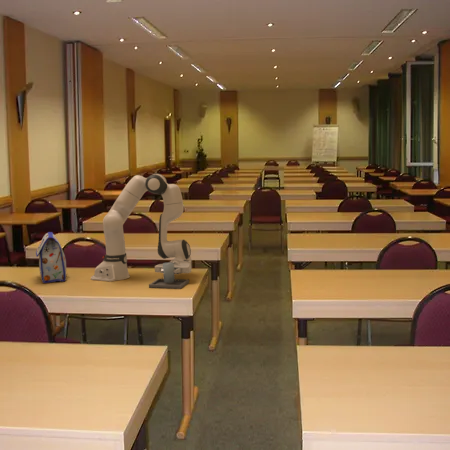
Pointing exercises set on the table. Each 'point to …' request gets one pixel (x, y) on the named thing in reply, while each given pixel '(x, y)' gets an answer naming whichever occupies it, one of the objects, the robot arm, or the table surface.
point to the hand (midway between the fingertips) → (168, 271)
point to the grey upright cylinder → (168, 272)
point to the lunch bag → (51, 259)
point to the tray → (169, 284)
